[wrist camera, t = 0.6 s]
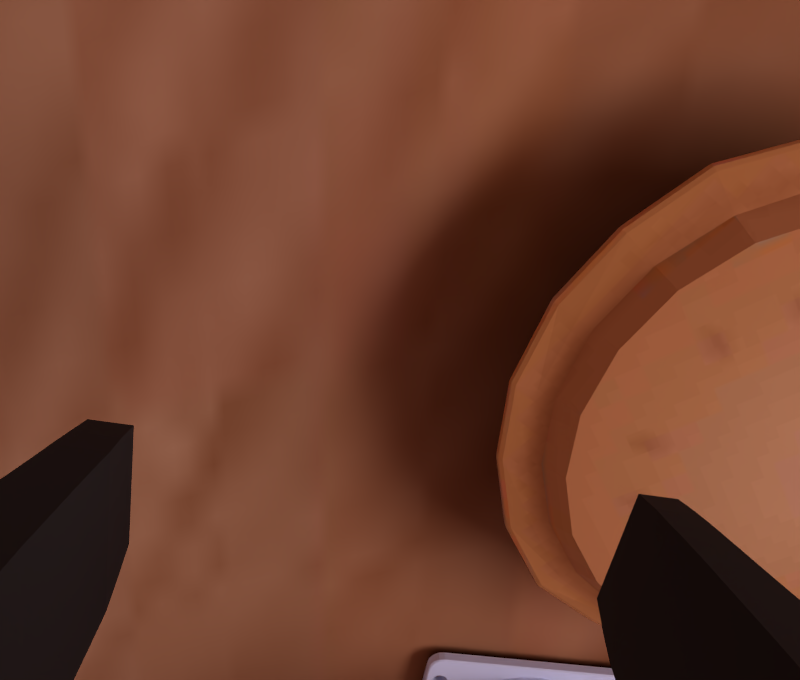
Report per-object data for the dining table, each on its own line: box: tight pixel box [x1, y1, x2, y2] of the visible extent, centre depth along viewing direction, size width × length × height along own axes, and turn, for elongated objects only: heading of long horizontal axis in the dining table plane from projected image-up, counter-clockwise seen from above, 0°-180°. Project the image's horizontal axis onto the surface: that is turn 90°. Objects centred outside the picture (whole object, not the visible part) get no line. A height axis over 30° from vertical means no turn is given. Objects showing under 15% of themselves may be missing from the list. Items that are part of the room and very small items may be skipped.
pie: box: [496, 140, 800, 625], centre depth 20 cm, size 16×16×5 cm
